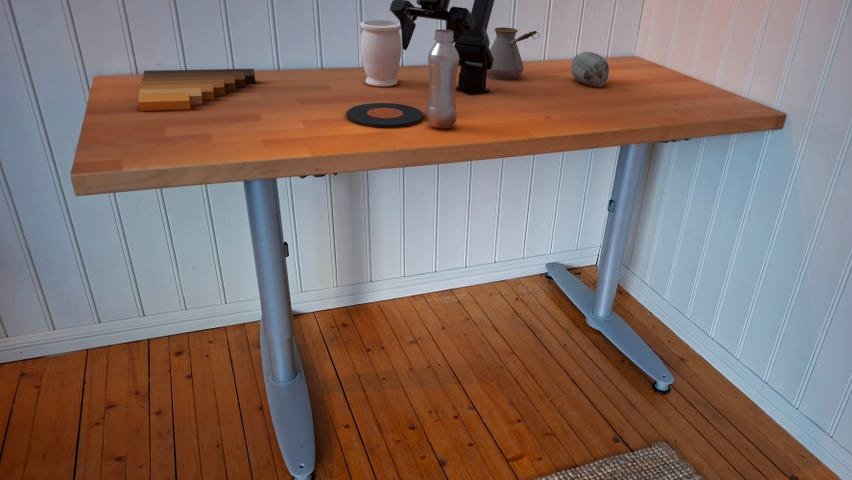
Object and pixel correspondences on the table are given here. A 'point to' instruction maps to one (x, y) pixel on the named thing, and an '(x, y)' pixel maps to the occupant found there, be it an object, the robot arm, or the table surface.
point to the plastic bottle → (442, 81)
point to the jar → (381, 51)
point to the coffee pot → (507, 54)
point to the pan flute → (188, 87)
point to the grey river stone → (590, 69)
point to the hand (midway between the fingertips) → (422, 52)
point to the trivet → (385, 115)
